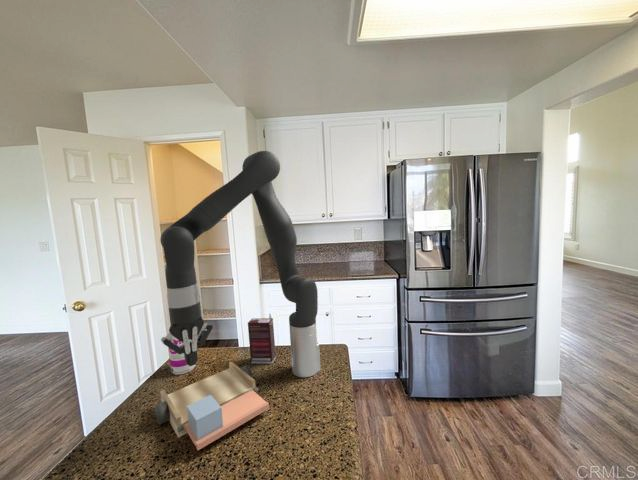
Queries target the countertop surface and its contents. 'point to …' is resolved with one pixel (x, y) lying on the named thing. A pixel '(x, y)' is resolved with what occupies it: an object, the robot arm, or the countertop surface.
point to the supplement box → (261, 340)
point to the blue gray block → (204, 417)
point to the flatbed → (204, 395)
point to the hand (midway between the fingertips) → (191, 364)
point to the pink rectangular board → (233, 416)
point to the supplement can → (178, 360)
